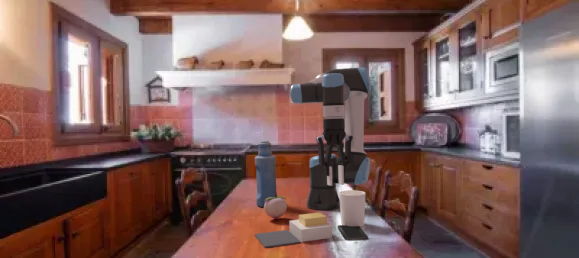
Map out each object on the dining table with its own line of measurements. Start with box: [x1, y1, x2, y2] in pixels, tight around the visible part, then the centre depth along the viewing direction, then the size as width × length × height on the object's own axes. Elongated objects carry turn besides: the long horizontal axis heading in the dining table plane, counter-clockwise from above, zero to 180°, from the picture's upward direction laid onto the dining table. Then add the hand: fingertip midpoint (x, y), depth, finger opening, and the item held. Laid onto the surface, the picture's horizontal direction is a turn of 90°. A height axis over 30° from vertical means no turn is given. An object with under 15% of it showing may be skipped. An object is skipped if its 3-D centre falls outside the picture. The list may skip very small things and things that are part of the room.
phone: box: [337, 224, 369, 241], centre depth 133 cm, size 8×1×15 cm
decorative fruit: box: [263, 194, 288, 220], centre depth 154 cm, size 9×8×10 cm
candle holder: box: [338, 189, 366, 228], centre depth 143 cm, size 10×10×12 cm
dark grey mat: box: [254, 229, 302, 249], centre depth 129 cm, size 12×14×1 cm
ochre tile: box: [298, 212, 328, 226], centre depth 133 cm, size 8×6×2 cm
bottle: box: [254, 140, 278, 208], centre depth 179 cm, size 10×10×30 cm
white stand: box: [289, 219, 333, 243], centre depth 133 cm, size 11×12×4 cm
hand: (335, 184), depth 135 cm, fingers open, 4 cm apart
